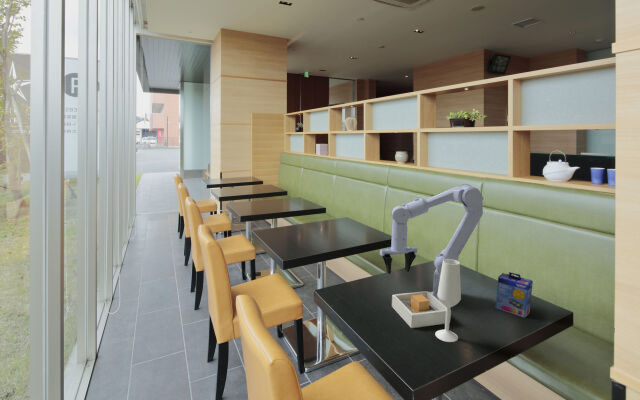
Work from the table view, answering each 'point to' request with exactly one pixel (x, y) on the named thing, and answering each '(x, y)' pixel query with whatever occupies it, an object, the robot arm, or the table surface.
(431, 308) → the inlet socket
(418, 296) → the light brown rectangular block
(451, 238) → the robot arm
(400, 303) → the walled box
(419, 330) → the table surface
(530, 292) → the ink cartridge box
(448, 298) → the champagne flute
